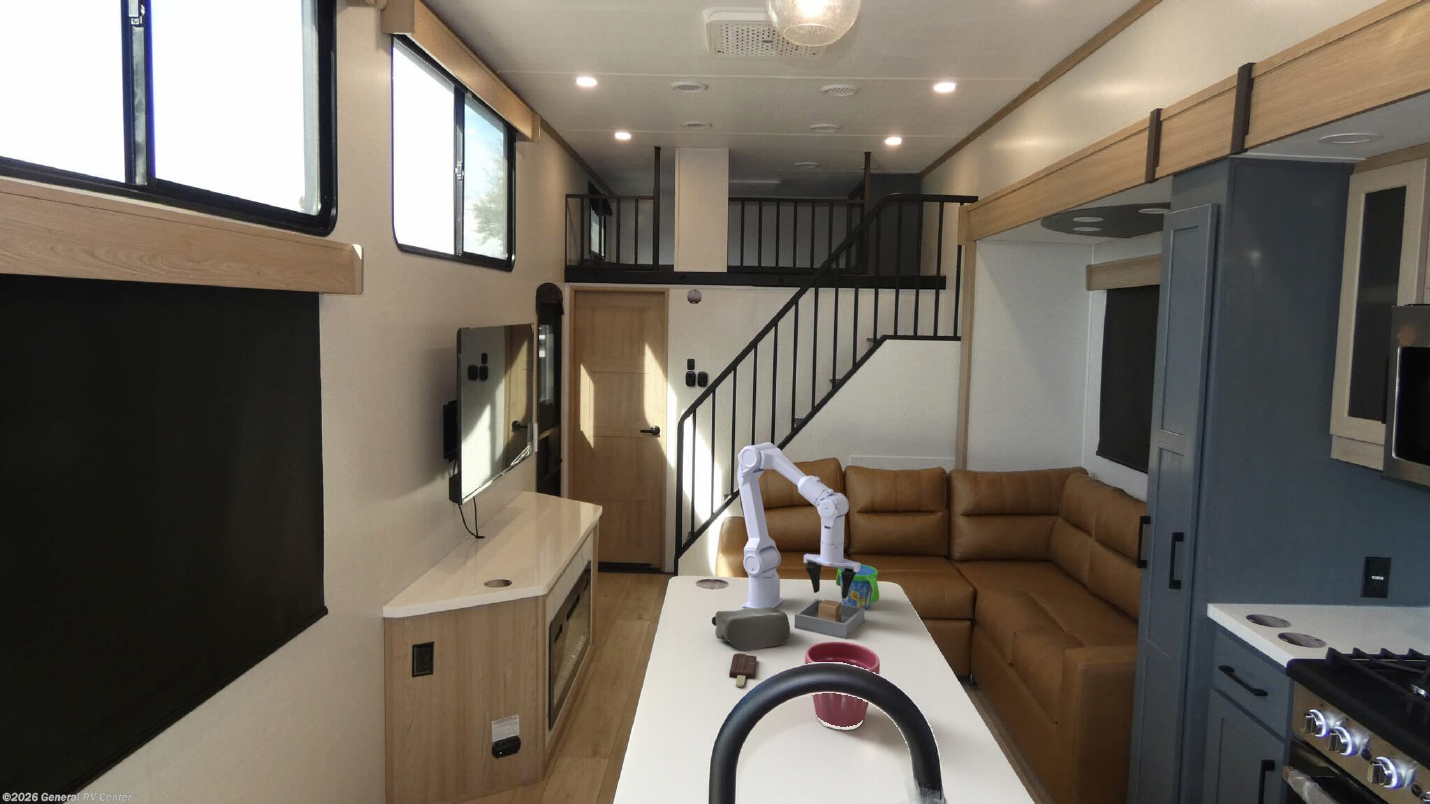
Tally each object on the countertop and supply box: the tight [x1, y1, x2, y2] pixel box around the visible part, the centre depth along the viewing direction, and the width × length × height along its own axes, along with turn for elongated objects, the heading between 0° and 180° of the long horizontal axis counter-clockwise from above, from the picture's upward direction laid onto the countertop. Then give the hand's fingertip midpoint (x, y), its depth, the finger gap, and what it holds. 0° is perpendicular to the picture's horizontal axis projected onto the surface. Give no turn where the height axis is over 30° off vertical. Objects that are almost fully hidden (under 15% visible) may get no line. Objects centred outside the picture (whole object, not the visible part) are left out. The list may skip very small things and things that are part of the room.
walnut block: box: [818, 599, 843, 622], centre depth 201 cm, size 4×4×5 cm
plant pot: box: [804, 641, 881, 727], centre depth 152 cm, size 14×14×13 cm
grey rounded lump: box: [711, 607, 791, 652], centre depth 191 cm, size 18×11×8 cm, turn 107°
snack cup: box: [835, 563, 880, 610], centre depth 215 cm, size 16×10×10 cm
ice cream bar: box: [728, 652, 758, 688], centre depth 173 cm, size 5×2×15 cm
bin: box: [794, 598, 866, 640], centre depth 201 cm, size 14×14×4 cm
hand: (830, 594), depth 201 cm, fingers open, 7 cm apart
